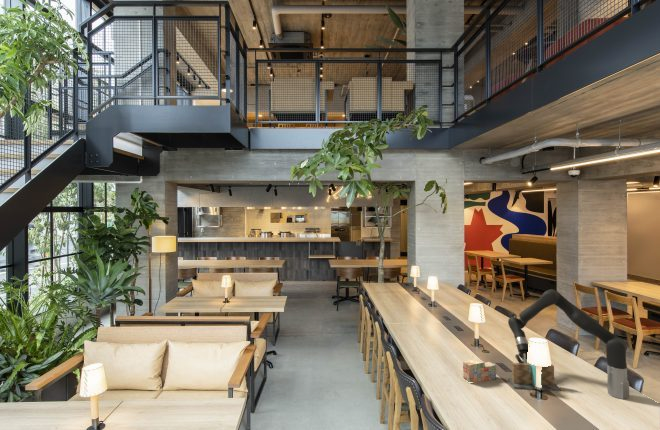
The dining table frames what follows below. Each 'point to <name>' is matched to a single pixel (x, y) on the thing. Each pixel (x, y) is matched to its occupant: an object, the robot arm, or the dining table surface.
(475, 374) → the stack of blocks
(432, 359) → the dining table surface
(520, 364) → the halving stand
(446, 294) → the dining table surface
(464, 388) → the dining table surface
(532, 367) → the teal plate
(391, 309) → the dining table surface
